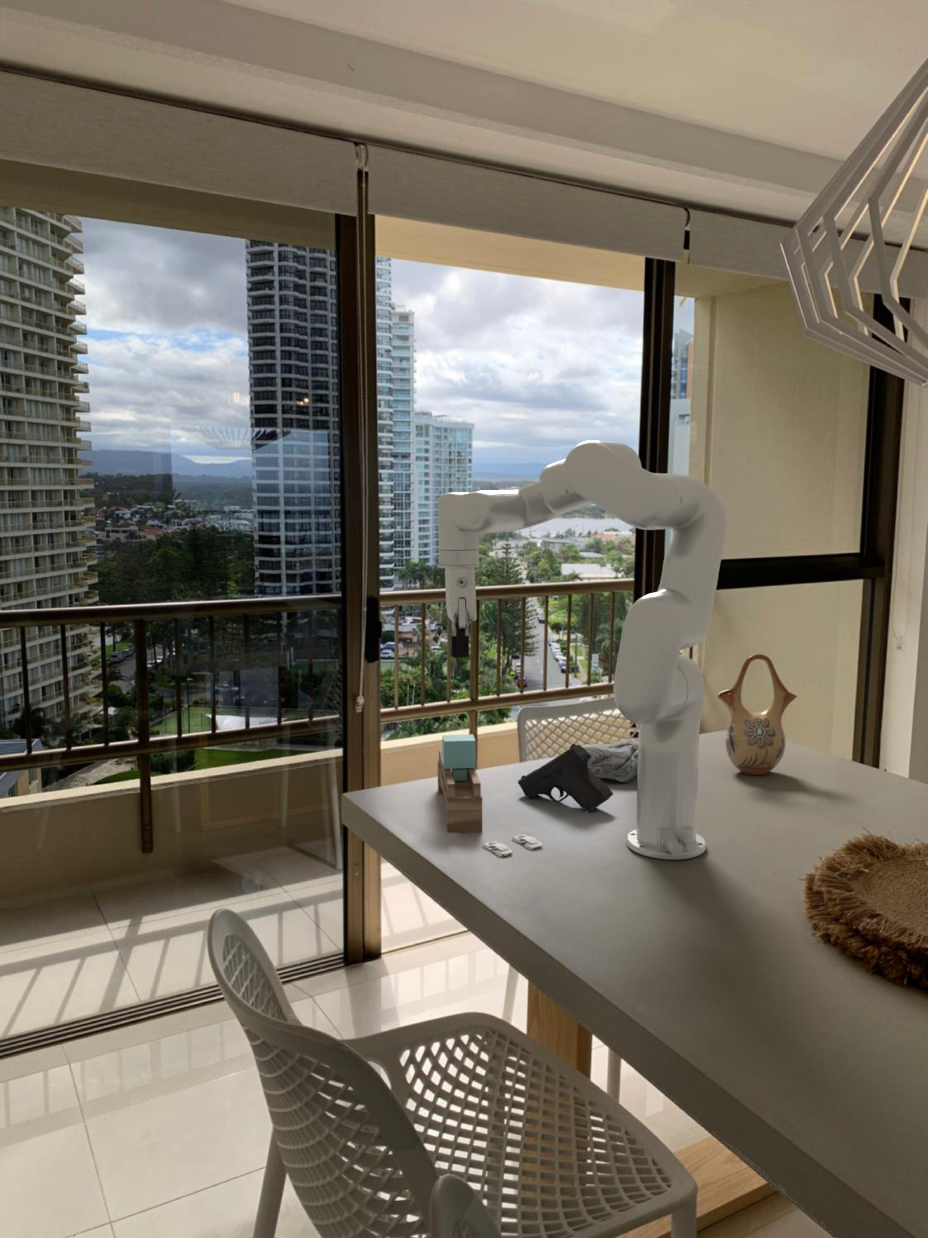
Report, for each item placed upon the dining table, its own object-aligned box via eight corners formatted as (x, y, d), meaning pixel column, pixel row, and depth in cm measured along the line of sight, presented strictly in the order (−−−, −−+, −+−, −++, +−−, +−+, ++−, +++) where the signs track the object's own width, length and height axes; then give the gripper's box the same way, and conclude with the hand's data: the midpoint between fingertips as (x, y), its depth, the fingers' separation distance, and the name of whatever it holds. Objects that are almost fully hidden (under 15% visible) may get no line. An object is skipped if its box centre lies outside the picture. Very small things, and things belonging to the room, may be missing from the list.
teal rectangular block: (475, 781, 165) (475, 740, 164) (444, 782, 164) (444, 741, 163) (473, 774, 169) (472, 734, 168) (442, 775, 168) (442, 735, 168)
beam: (483, 831, 157) (483, 784, 156) (446, 833, 157) (446, 785, 156) (469, 788, 181) (468, 747, 180) (437, 789, 180) (436, 748, 179)
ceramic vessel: (785, 766, 195) (789, 649, 192) (801, 778, 186) (807, 656, 183) (708, 767, 195) (712, 650, 192) (721, 779, 186) (725, 657, 183)
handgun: (606, 801, 164) (573, 742, 167) (544, 836, 173) (513, 780, 176) (615, 796, 167) (582, 739, 170) (553, 831, 176) (523, 776, 179)
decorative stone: (559, 756, 192) (579, 713, 191) (607, 770, 199) (626, 728, 198) (599, 787, 179) (620, 741, 179) (648, 800, 187) (669, 756, 186)
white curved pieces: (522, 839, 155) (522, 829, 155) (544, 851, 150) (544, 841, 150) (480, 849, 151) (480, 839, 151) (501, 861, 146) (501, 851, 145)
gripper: (483, 561, 164) (484, 662, 166) (474, 556, 179) (475, 650, 181) (442, 562, 163) (443, 664, 165) (435, 557, 178) (437, 651, 180)
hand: (460, 656), depth 173 cm, fingers closed
